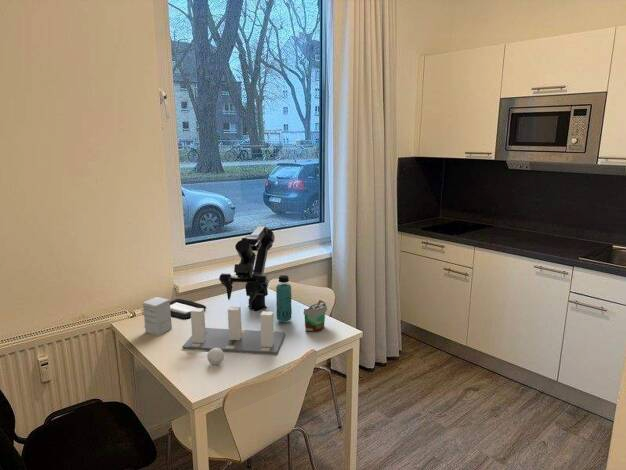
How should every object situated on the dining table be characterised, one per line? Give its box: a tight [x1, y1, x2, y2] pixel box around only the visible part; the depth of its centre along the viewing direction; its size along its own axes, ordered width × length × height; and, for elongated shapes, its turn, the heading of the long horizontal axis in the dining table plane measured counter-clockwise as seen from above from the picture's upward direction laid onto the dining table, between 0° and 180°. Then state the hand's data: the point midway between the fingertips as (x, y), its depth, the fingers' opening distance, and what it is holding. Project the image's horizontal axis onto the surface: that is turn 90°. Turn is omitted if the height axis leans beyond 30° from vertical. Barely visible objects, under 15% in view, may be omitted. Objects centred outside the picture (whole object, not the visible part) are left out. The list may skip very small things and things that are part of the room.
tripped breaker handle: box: [227, 306, 243, 340], centre depth 160 cm, size 3×4×12 cm
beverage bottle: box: [275, 274, 293, 322], centre depth 176 cm, size 6×7×20 cm
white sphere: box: [201, 348, 225, 366], centre depth 145 cm, size 8×6×6 cm
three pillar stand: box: [182, 308, 286, 356], centre depth 160 cm, size 16×35×13 cm, turn 83°
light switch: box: [170, 298, 207, 321], centre depth 190 cm, size 20×3×14 cm
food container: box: [303, 299, 328, 334], centre depth 171 cm, size 12×6×10 cm, turn 148°
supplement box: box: [142, 296, 173, 336], centre depth 169 cm, size 7×7×13 cm
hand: (240, 300), depth 166 cm, fingers open, 9 cm apart
